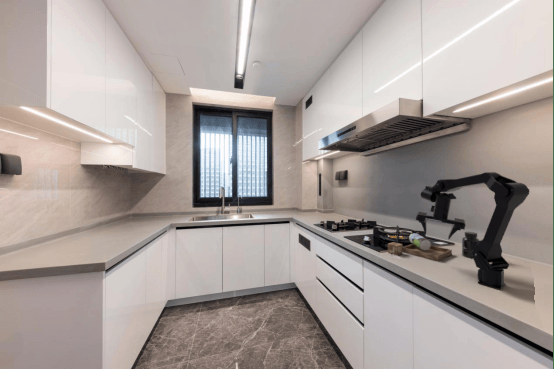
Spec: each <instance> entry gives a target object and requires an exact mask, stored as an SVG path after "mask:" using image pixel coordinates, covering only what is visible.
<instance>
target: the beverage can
mask: <svg viewBox="0 0 554 369" xmlns="http://www.w3.org/2000/svg"><path fill="white" fill-rule="evenodd" d="M408 240H409V242H410V243H411V244H414V245H416V246H417V247H418V248H420V249H421V250H424V251H425V250H428V249H429V248H430V247H431V245H432V243H431V241H430V240H429V239H427V238H425V237H424V236H422V235H420V234H419V233H414V232H413V233H411V234H410V235H409V236H408Z"/></svg>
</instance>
